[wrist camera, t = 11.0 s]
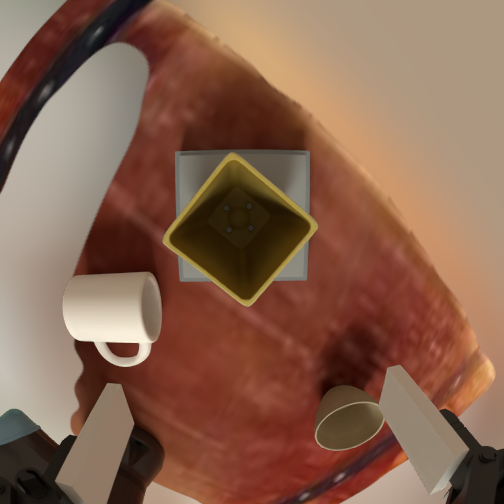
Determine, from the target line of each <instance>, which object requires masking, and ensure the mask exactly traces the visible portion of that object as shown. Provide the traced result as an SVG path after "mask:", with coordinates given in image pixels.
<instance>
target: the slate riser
mask: <svg viewBox="0 0 504 504" xmlns="http://www.w3.org/2000/svg"><path fill="white" fill-rule="evenodd" d="M231 152H234V153H237V154H238V155H240V156H241V157H242V158H244V159H245V160H246V161H247V162H248V163H250V164H251V165H252V166H253V167H254V168H255V169H257V170H258V171H259V172H260V173H261V174H262V175H264V176H265V177H266V178H267V179H268V180H269V181H271V182H272V183H273V184H274V185H275V186H277V187H278V188H279V189H280V190H281V191H282V192H284V193H285V194H286V195H287V196H288V197H289V198H291V199H292V200H293V201H294V202H295V203H296V204H298V205H299V206H300V207H301V208H302V209H303V210H305V211H306V212H307V213H308V214H309V207H310V151H299V150H200V151H179V152H175V183H176V218H177V217H178V216H179V214H180V213H181V212H182V211H183V209H184V208H185V207H186V205H187V204H188V203H189V202H190V200H191V199H192V198H193V197H194V195H195V194H196V193H197V191H198V190H199V189H200V188H201V186H202V185H203V184H204V183H205V181H206V180H207V179H208V178H209V176H210V175H211V174H212V172H213V171H214V170H215V169H216V167H217V166H218V165H219V164H220V163H221V161H222V160H223V159H224V158H225V157H226V156H227V155H228V154H229V153H231ZM246 207H247V208H248V209H250V208H251V207H252V205H251V204H250V203H248V204H247V205H246ZM224 210H225V211H228V210H229V206H227V205H226V206H225V207H224ZM248 229H249V230H250V231H252V230H253V229H254V227H253V226H252V225H250V226H249V227H248ZM226 231H227V232H228V233H230V232H231V231H232V229H231V228H230V227H228V228H227V229H226ZM308 243H309V240H308V241H307V242H306V243H305V244H304V246H303V247H302V248H301V249H300V250H299V251H298V252H297V253H296V255H295V256H294V257H293V258H292V259H291V261H290V262H289V263H288V264H287V265H286V266H285V267H284V268H283V270H282V271H281V272H280V273H279V274H278V275H277V276H276V278H275V279H274V280H273V281H290V280H307V267H308ZM178 261H179V276H180V281H212V280H210V279H209V278H208V277H207V276H205V275H204V274H203V273H201V272H200V271H199V270H198V269H196V268H195V267H193V266H192V265H191V264H189V263H188V262H187V261H186V260H184V259H183V258H181V257H180V256H179V255H178Z"/></svg>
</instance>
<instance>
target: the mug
mask: <svg viewBox="0 0 504 504" xmlns="http://www.w3.org/2000/svg"><path fill="white" fill-rule="evenodd" d="M62 310H63V318H64V321H65V325H66V327H67V329H68V331H69V333H70V334H71V335H72V336H73V337H74V338H75V339H77V340H79V341H94V343H95V345H96V347H97V349H98V351H99V352H100V354H101V355H102V356H103V357H104V358H105V359H106V360H107V361H109V362H110V363H112V364H114V365H117V366H122V367H128V366H133V365H136V364H139V363H141V362H142V361H144V360H145V359H146V358H147V357H148V355H149V353H150V351H151V343H153V342H155V341H156V340H157V339H158V337H159V334H160V330H161V323H162V303H161V295H160V290H159V286H158V283H157V280H156V278H155V277H154V275H153V274H152V273H150V272H133V273H114V274H95V275H77V276H74V277H72V278H71V279H70V280H69V281H68V283H67V285H66V288H65V290H64V294H63V300H62ZM106 342H125V343H139V351H138V354H137V355H136V356H134V357H129V358H123V357H118V356H115V355H114V354H113V353H112V352H111V351H110V350H109V348H108V346H107V344H106Z"/></svg>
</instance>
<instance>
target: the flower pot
mask: <svg viewBox="0 0 504 504" xmlns="http://www.w3.org/2000/svg"><path fill="white" fill-rule="evenodd" d="M248 203H250V204H251V205H252V207H251V208H250V209H248V208H247V207H246V205H247V204H248ZM226 205H227V206H229V210H228V211H225V210H224V207H225V206H226ZM250 225H252V226H253V227H254V229H253V230H252V231H250V230H249V229H248V227H249V226H250ZM228 227H230V228H231V229H232V231H231V232H230V233H228V232H227V231H226V229H227V228H228ZM317 228H318V223H317V221H316V220H315V219H314V218H313V217H312V216H310V215H309V214H308V213H307V212H306V211H305V210H303V209H302V208H301V207H300V206H299V205H298V204H296V203H295V202H294V201H293V200H292V199H291V198H289V197H288V196H287V195H286V194H285V193H284V192H282V191H281V190H280V189H279V188H278V187H277V186H275V185H274V184H273V183H272V182H271V181H269V180H268V179H267V178H266V177H265V176H264V175H262V174H261V173H260V172H259V171H258V170H257V169H255V168H254V167H253V166H252V165H251V164H250V163H248V162H247V161H246V160H245V159H244V158H242V157H241V156H240V155H238V154H237V153H234V152H231V153H229V154H228V155H227V156H226V157H225V158H224V159H223V160H222V161H221V163H220V164H219V165H218V166H217V167H216V169H215V170H214V171H213V172H212V174H211V175H210V176H209V178H208V179H207V180H206V181H205V183H204V184H203V185H202V186H201V188H200V189H199V190H198V191H197V193H196V194H195V195H194V197H193V198H192V199H191V200H190V202H189V203H188V204H187V205H186V207H185V208H184V209H183V211H182V212H181V213H180V214H179V216H178V217H177V218H176V219H175V221H174V222H173V223H172V225H171V226H170V227H169V229H168V230H167V231H166V233H165V234H164V236H163V243H164V244H165V245H166V246H167V247H168V248H169V249H171V250H172V251H173V252H175V253H176V254H177V255H179V256H180V257H181V258H183V259H184V260H186V261H187V262H188V263H189V264H191V265H192V266H193V267H195V268H196V269H198V270H199V271H200V272H201V273H203V274H204V275H205V276H207V277H208V278H209V279H210V280H212V281H213V282H214V283H215V284H217V285H218V286H219V287H220V288H222V289H223V290H224V291H225V292H227V293H228V294H229V295H231V296H232V297H233V298H234V299H235V300H237V301H238V302H240V303H241V304H243V305H245V306H247V307H248V306H251V305H252V304H253V303H254V302H255V301H256V299H257V298H258V297H259V296H260V295H261V294H262V293H263V291H264V290H265V289H266V288H267V287H268V286H269V284H270V283H271V282H272V281H273V280H274V279H275V278H276V276H277V275H278V274H279V273H280V272H281V271H282V270H283V268H284V267H285V266H286V265H287V264H288V263H289V262H290V261H291V259H292V258H293V257H294V256H295V255H296V253H297V252H298V251H299V250H300V249H301V248H302V247H303V246H304V244H305V243H306V242H307V241H308V240H309V239H310V237H311V236H312V235H313V234H314V232H315V231H316V230H317Z"/></svg>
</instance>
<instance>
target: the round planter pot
mask: <svg viewBox="0 0 504 504" xmlns="http://www.w3.org/2000/svg"><path fill="white" fill-rule="evenodd" d="M378 406H379V403H378V402H377V401H376V400H375V399H374V398H373V397H372V396H370V395H369V394H368V393H366V392H364V391H362V390H360V389H358V388H356V387H353V386H349V385H339V386H335V387H333V388H331V389H330V390H329V391H327V392H326V394H325V395H324V396H323V398H322V400H321V402H320V404H319V407H318V410H317V413H316V418H315V439H316V442H317V443H318V444H319V445H320V446H321V447H323V448H325V449H328V450H346V449H351V448H354V447H357V446H359V445H361V444H363V443H365V442H366V441H368V440H370V439H371V438H372V437H373V436H374V435H376V434H377V433H378V431H379V430H380V429H381V427H382V426H383V423H384V421H385V418H384V416H383V415H382V413H381V411H380V410H379V408H378Z"/></svg>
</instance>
